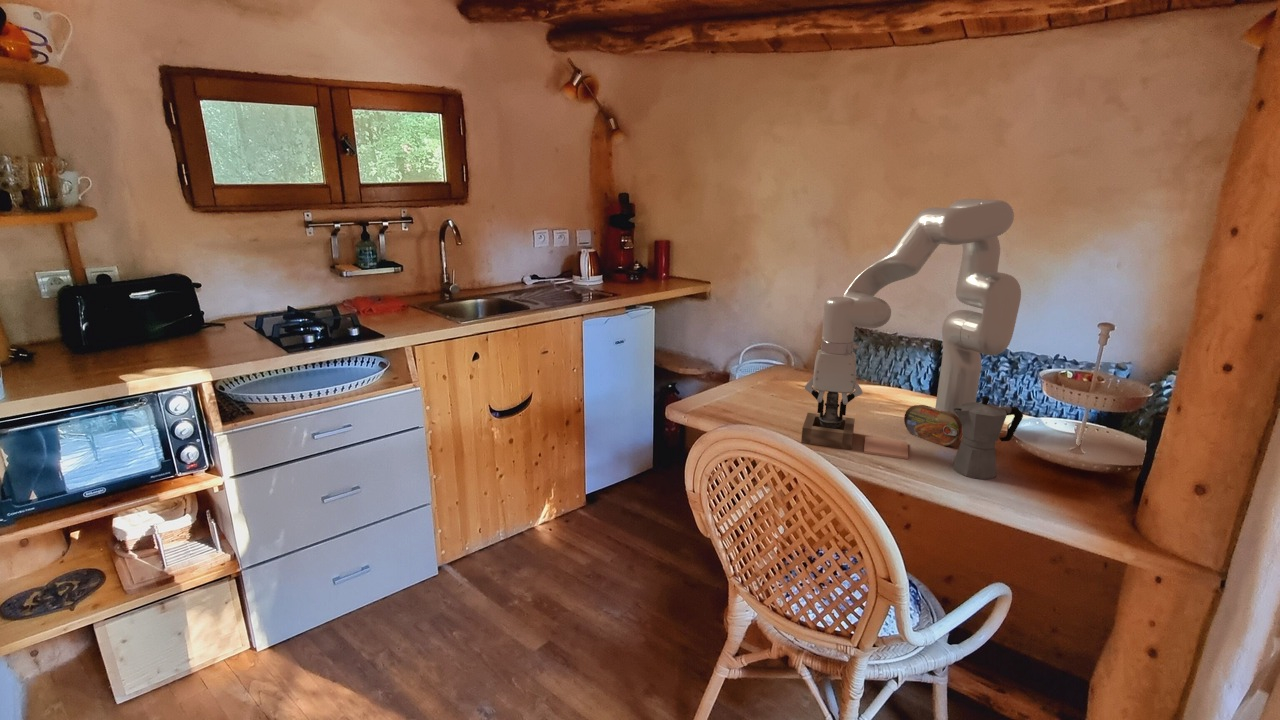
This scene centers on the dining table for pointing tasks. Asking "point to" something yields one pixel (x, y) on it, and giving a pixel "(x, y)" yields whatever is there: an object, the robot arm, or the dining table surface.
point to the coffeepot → (982, 437)
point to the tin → (933, 424)
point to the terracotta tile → (886, 447)
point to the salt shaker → (831, 412)
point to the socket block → (827, 432)
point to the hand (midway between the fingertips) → (831, 415)
